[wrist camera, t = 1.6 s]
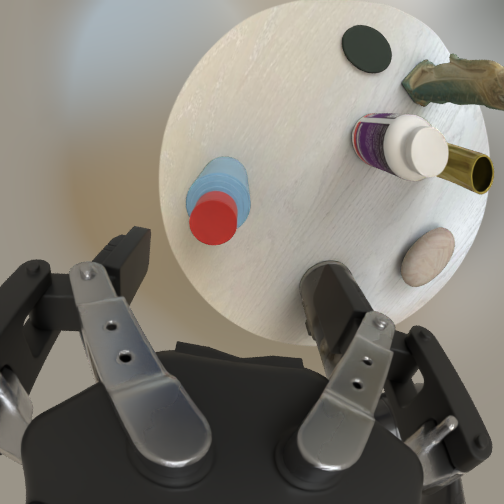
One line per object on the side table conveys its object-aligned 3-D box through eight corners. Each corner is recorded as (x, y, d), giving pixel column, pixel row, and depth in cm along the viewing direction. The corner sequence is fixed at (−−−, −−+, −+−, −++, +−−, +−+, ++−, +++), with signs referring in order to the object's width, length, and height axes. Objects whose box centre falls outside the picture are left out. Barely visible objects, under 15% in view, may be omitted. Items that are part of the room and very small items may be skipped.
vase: (405, 165, 38) (463, 190, 25) (414, 130, 35) (475, 143, 22) (431, 176, 38) (488, 203, 26) (440, 143, 36) (500, 161, 23)
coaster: (385, 81, 32) (387, 80, 31) (337, 61, 31) (338, 60, 30) (393, 39, 28) (394, 38, 28) (346, 18, 27) (347, 17, 27)
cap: (232, 235, 26) (232, 249, 23) (192, 227, 26) (186, 241, 23) (241, 195, 24) (241, 205, 22) (198, 187, 24) (192, 196, 21)
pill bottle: (373, 175, 38) (426, 204, 26) (338, 138, 36) (387, 150, 23) (404, 141, 36) (465, 157, 23) (372, 102, 33) (431, 100, 20)
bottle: (242, 204, 40) (243, 262, 24) (198, 196, 39) (171, 249, 24) (251, 161, 37) (260, 192, 22) (206, 152, 36) (180, 177, 21)
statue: (443, 81, 31) (563, 90, 8) (423, 113, 34) (551, 138, 11) (417, 52, 29) (539, 37, 6) (395, 83, 32) (527, 80, 9)
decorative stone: (437, 212, 41) (453, 222, 37) (450, 245, 44) (465, 257, 40) (387, 256, 45) (400, 270, 40) (404, 285, 48) (416, 300, 44)
